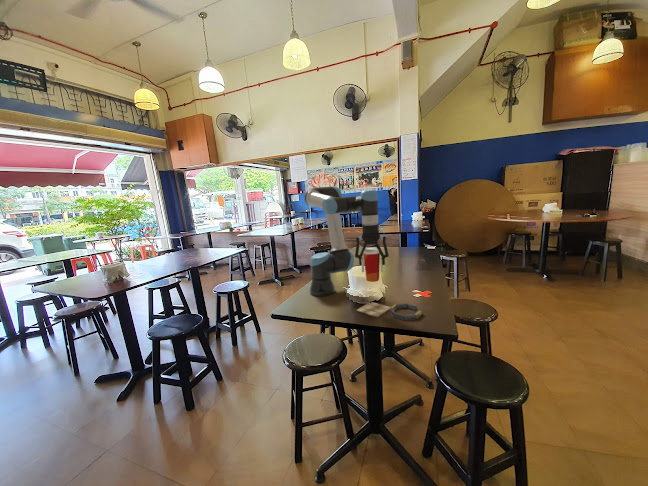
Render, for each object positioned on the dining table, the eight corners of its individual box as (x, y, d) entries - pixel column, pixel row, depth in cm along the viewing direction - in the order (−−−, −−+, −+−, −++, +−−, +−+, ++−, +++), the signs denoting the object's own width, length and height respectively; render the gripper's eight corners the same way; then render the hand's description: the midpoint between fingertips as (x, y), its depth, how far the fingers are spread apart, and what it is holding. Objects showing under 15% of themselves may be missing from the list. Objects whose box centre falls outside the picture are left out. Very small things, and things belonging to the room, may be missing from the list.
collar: (385, 314, 117) (385, 310, 116) (399, 305, 126) (399, 301, 125) (412, 322, 108) (412, 318, 107) (425, 312, 117) (425, 307, 116)
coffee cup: (372, 276, 126) (371, 247, 124) (385, 279, 119) (384, 248, 117) (360, 280, 121) (358, 249, 119) (372, 283, 115) (371, 252, 112)
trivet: (356, 310, 123) (356, 309, 123) (370, 302, 131) (370, 301, 131) (377, 317, 115) (377, 316, 115) (391, 308, 123) (391, 307, 123)
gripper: (346, 226, 115) (349, 273, 119) (393, 224, 110) (395, 273, 113) (349, 224, 122) (351, 269, 126) (393, 222, 117) (394, 269, 121)
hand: (372, 271), depth 120 cm, fingers closed on coffee cup, 8 cm apart
